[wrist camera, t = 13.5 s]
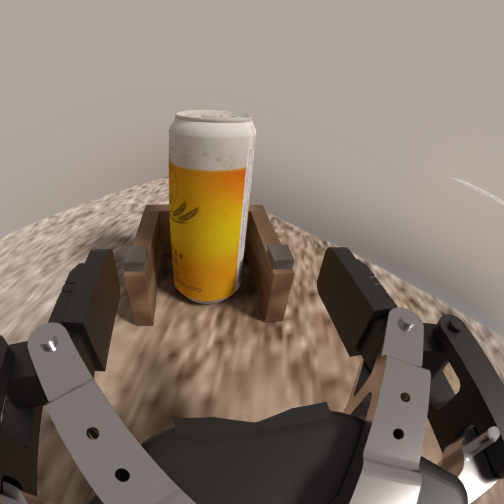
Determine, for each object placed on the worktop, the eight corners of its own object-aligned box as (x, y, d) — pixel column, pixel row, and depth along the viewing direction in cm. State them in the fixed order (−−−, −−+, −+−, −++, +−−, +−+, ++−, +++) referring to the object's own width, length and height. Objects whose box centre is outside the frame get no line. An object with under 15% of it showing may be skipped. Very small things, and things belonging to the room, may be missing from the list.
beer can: (180, 263, 29) (180, 108, 21) (241, 267, 29) (256, 112, 21) (168, 304, 24) (158, 118, 15) (239, 311, 24) (259, 122, 16)
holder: (135, 325, 21) (122, 266, 18) (149, 246, 31) (145, 197, 27) (282, 320, 24) (296, 263, 20) (257, 245, 33) (263, 198, 30)
